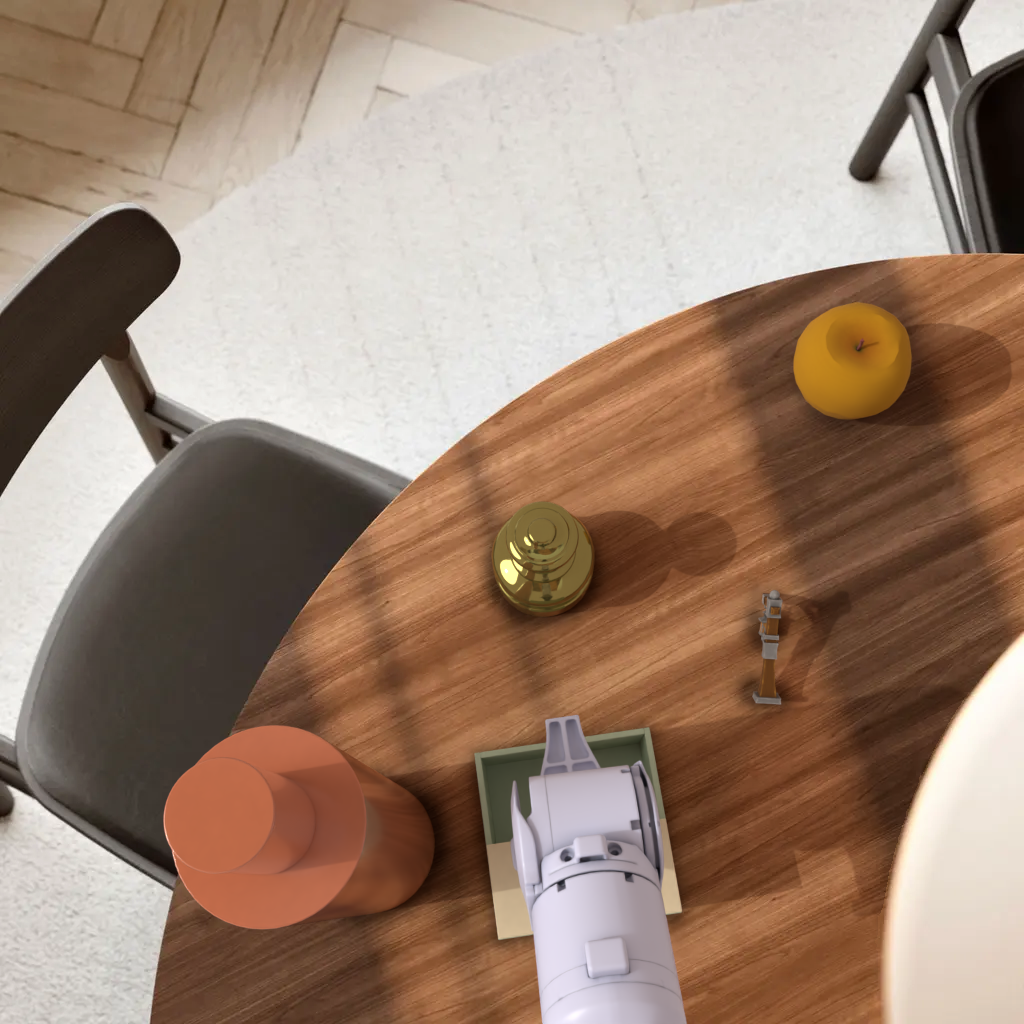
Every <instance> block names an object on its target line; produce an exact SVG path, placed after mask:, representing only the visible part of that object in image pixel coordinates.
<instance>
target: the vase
mask: <svg viewBox="0 0 1024 1024" xmlns="http://www.w3.org/2000/svg"><path fill="white" fill-rule="evenodd" d="M163 831H164V835H165V838H166V842H167V844H168V845H169V848H170V849H171V853H172V858H173V861H174V866H175V868H176V871H177V873H178V875H179V878H180V880H181V881H182V883H183V885H184V887H185V888H186V890H187V892H188V893H189V894H190V895H191V897H192V898H193V899H194V900H195V901H196V902H197V904H198V905H200V906H201V907H202V908H203V909H204V910H205V911H207V912H208V913H209V914H211V915H212V916H214V917H215V918H217V919H219V920H221V921H223V922H225V923H228V924H231V925H233V926H236V927H240V928H244V929H250V930H273V929H281V928H287V927H288V928H289V927H293V926H301V925H306V924H307V925H308V924H314V923H320V922H326V921H333V920H340V919H345V918H352V917H359V916H365V915H371V914H378V913H382V912H386V911H389V910H392V909H394V908H396V907H398V906H401V905H402V904H403V903H405V902H406V901H408V900H409V899H410V898H411V897H412V896H413V895H415V894H416V893H417V891H418V890H419V889H420V888H421V886H422V885H423V884H424V883H425V880H426V879H427V877H428V874H429V873H430V870H431V867H432V864H433V861H434V855H435V846H436V844H435V843H436V842H435V833H434V828H433V825H432V820H431V818H430V815H429V814H428V812H427V810H426V809H425V807H424V805H423V804H422V803H421V802H420V800H419V799H418V798H417V797H416V796H415V795H414V794H413V793H412V792H410V791H409V790H408V789H405V787H403V786H401V785H399V784H398V783H396V782H394V780H391V779H390V778H388V777H386V776H385V775H384V774H382V773H381V772H378V771H377V770H375V769H374V768H372V767H370V766H369V765H367V764H365V763H364V762H362V761H361V760H359V759H358V758H355V757H354V756H352V755H350V754H349V753H347V752H346V751H345V750H343V749H341V748H339V747H338V746H336V745H334V744H333V743H331V742H329V741H328V740H326V739H325V738H322V736H319V735H317V734H315V733H313V732H312V731H308V730H306V729H304V728H303V729H302V728H299V727H297V726H296V727H295V726H290V725H281V724H279V725H277V724H270V725H268V724H267V725H259V726H255V727H250V728H247V729H244V730H241V731H239V732H236V733H234V734H232V735H230V736H228V737H226V738H224V739H223V740H221V741H219V742H217V744H215V745H214V746H213V747H211V748H210V749H209V750H208V751H207V752H205V753H204V755H202V756H201V757H200V759H199V760H198V761H197V762H196V763H195V765H193V766H192V767H190V768H189V769H188V770H186V771H185V772H184V773H182V775H181V776H180V777H179V778H178V779H177V781H176V782H175V783H174V785H173V786H172V788H171V790H170V792H169V793H168V796H167V799H166V801H165V805H164V811H163Z"/></svg>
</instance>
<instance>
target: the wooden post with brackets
mask: <svg viewBox="0 0 1024 1024" xmlns="http://www.w3.org/2000/svg"><path fill="white" fill-rule="evenodd" d="M780 596H781V594H780V591H778V590H777V589H773V590H771V591H770V592H761V604H762V605H763V606H764V609H765V610H764V611H762V614H763V616H762V617H758V620H759V622H760V626H759V631H758V634H759V636H761V637H760V639H761V642H762V650H761V651H762V652H761V654H760V655H761V657H762V666H761V667H762V668H761V674H760V680H759V685H758V689H757V691H752V692H753V694H752V696H751V697H752V698H753V700H754V702H755V704H765V705H766V704H767V705H782V698H781V697H780V695H779V693H778V692H777V689H776V670H775V667H776V660H778V647H779V644H780V643H779V642H778V641H779V640H780V635H779V634H778V629H779V620H780V619H782V605H783V599H782V597H780Z"/></svg>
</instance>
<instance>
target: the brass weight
mask: <svg viewBox="0 0 1024 1024" xmlns="http://www.w3.org/2000/svg"><path fill="white" fill-rule="evenodd" d="M593 541H594V540H593V538H592V536H591V534H590V532H589V530H588V528H587V527H586V526H585V525H584V523H583V522H582V521H581V520H580V519H579V518H578V517H577V516H575V515H574V514H573V513H571V512H569V511H568V510H567V509H565V508H564V507H563V506H561V505H560V504H557V503H555V502H551V501H545V500H544V501H543V500H540V501H533V502H530V503H527V504H525V505H523V506H522V507H521V508H519V509H518V510H517V511H515V512H514V514H513V515H512V516H510V517H509V518H508V519H507V520H506V521H505V522H504V523H503V524H502V525H501V527H500V528H499V530H498V531H497V533H496V535H495V537H494V540H493V544H492V548H491V566H492V570H493V575H494V578H495V581H496V585H497V587H498V590H499V591H500V593H501V595H502V596H503V598H504V599H505V600H506V601H507V603H509V604H510V605H511V606H512V607H513V608H514V609H516V610H518V611H519V612H521V613H524V614H527V615H530V616H534V617H543V618H544V617H553V616H558V615H561V614H563V613H565V612H567V611H569V610H571V609H573V608H574V607H575V606H576V605H577V604H579V602H580V601H582V599H583V598H584V596H585V595H586V593H587V592H588V590H589V587H590V585H591V582H592V579H593V578H592V577H593V575H594V574H593V573H594V567H595V555H596V554H595V553H596V552H595V546H594V542H593Z"/></svg>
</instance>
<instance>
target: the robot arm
mask: <svg viewBox="0 0 1024 1024" xmlns="http://www.w3.org/2000/svg"><path fill="white" fill-rule="evenodd" d="M544 723H545V733H546V734H545V736H546V739H545V743H546V748H545V755H544V760H543V765H542V770H541V775H540V776H533V777H529V788H530V798H531V808H532V810H531V813H530V815H529V817H528V818H527V820H526V821H525V819H524V817H523V816H522V814H521V809H520V801H519V794H518V788H517V783H516V781H513V787H512V795H511V816H512V827H513V838H512V839H511V843H510V846H511V854H512V861H513V866H514V868H515V870H517V871H518V877H519V882H520V886H521V889H522V893H523V896H524V899H525V902H526V905H527V909H528V913H529V919H530V924H531V930H532V931H533V934H534V935H533V943H534V952H535V961H536V962H535V963H536V973H537V984H538V993H539V1002H540V1012H541V1013H540V1015H541V1023H542V1024H688V1022H687V1017H686V1013H685V1008H684V1000H683V996H682V991H681V986H680V980H679V975H678V970H677V965H676V960H675V955H674V949H673V943H672V938H671V934H670V928H669V922H668V918H667V915H666V913H665V907H664V902H663V897H662V892H661V889H662V880H663V874H664V850H663V840H662V832H661V825H660V818H659V813H658V807H657V802H656V797H655V793H654V789H653V786H652V784H651V781H650V779H649V776H648V775H647V773H646V771H645V769H644V766H643V764H642V762H641V761H638V762H636V763H635V764H634V765H633V766H631V767H630V768H629V766H628V765H623V766H615V767H607V768H600V766H599V764H598V762H597V760H596V758H595V757H594V755H593V753H592V751H591V749H590V748H589V746H588V743H587V741H586V739H585V737H586V736H585V735H584V732H583V729H582V724H581V720H580V715H579V714H573V715H566V716H561V717H560V716H559V717H552V718H547V719H545V721H544Z"/></svg>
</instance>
